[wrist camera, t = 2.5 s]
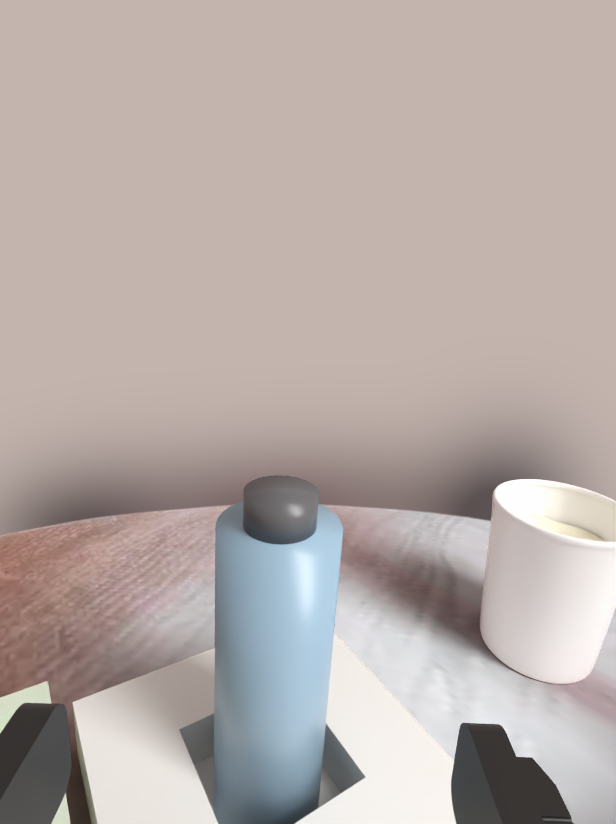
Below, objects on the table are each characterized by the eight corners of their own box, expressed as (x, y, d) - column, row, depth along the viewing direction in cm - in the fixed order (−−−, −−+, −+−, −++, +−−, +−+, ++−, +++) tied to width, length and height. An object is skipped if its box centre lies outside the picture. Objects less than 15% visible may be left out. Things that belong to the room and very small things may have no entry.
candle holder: (623, 711, 33) (671, 555, 30) (472, 674, 35) (500, 526, 32) (584, 617, 42) (617, 490, 39) (466, 592, 44) (488, 470, 41)
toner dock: (77, 751, 28) (72, 702, 27) (310, 650, 36) (313, 609, 35) (160, 1175, 15) (157, 1110, 14) (489, 865, 24) (502, 812, 23)
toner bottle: (197, 777, 26) (196, 478, 21) (285, 730, 29) (302, 459, 24) (241, 882, 22) (252, 536, 17) (339, 815, 25) (372, 504, 20)
